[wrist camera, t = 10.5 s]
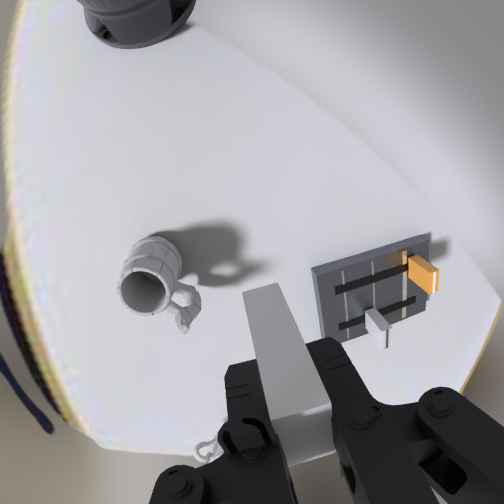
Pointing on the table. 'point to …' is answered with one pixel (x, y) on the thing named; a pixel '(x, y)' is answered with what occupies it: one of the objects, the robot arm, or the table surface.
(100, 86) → the table surface
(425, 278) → the fader orange
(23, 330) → the table surface
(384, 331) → the fader white
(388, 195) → the table surface
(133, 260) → the mug
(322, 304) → the console
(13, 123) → the table surface
